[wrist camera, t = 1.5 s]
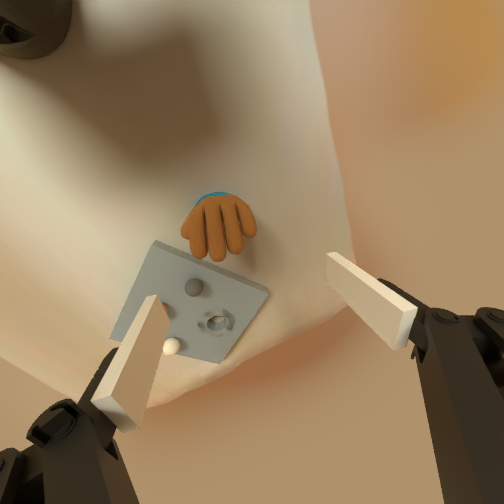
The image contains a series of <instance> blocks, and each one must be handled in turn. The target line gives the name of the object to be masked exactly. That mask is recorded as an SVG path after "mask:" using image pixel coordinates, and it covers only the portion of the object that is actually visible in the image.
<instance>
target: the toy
mask: <svg viewBox="0 0 504 504" xmlns="http://www.w3.org/2000/svg"><path fill="white" fill-rule="evenodd" d="M239 221H240V224H239ZM222 222H223V223H224V230H225V237H226V244H227V248H228V250H229V252H230V253H232V254H238V253H240V252H241V251H242V249H243V240H242V235H241V230H242V233H243V235H244V236H245V237H247V238H251V237H254V236H255V235H256V233H257V228H256V223H255V219H254V216H253V214H252V211H251V209H250V207H249V206H248V205H247V204H246V203H245V202H244V201H242V200H241V199H240V198H238V197H237V196H234V195H231V194H228V193H223V192H216V193H210V194H207V195H205V196H203V197H202V198H201V199H200V200H199V201H198V202H197V204H196V206H195V207H194V209H193V210H192V211H191V213H190V214H189V215H188V217H187V218H186V220H185V222H184V223H183V225H182V228H181V235H182V237H183V238H185V239H189V240H190V249H191V253H192V255H193V256H194V257H195V258H197V259H202V258H204V257H206V256H207V253H208V248H209V254H210V257H211V259H212V260H213V261H216V262H220V261H223V260H224V259H225V257H226V244H225V237H224V230H223V224H222ZM240 225H241V229H240ZM206 227H207V237H206ZM207 238H208V246H207Z"/></svg>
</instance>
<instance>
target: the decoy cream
mask: <svg viewBox="0 0 504 504" xmlns="http://www.w3.org/2000/svg"><path fill="white" fill-rule="evenodd" d="M179 347H180V343H179V341H178V340H177V339H176V338H169V339H167V340H166V341H165V343H164V346H163V352H164V354H165V355H168V356H171V355H174V354H175V353H177V351H178V350H179Z"/></svg>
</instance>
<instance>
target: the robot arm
mask: <svg viewBox="0 0 504 504" xmlns="http://www.w3.org/2000/svg"><path fill="white" fill-rule="evenodd" d="M70 19H71V0H0V54H3V55H7V56H10V57H15V58H23V59H31V58H38V57H42V56H45V55H47V54H49V53H51V52H52V51H54V50H55V49H56V48H57V47H58V46H59V45H60V44H61V43H62V41H63V40H64V38H65V36H66V34H67V31H68V28H69V24H70ZM326 283H327V284H328V285H329V286H330V287H331V288H332V289H333V290H334V291H335V292H336V293H337V294H338V295H339V296H340V297H341V298H342V299H343V300H344V301H345V302H346V303H347V304H348V305H349V306H350V307H351V308H352V309H353V310H354V311H355V312H356V313H357V314H358V315H359V316H360V317H361V318H362V319H363V320H364V321H365V322H366V323H367V324H368V325H369V326H370V327H371V328H372V329H373V330H374V331H375V332H376V333H377V334H378V335H379V336H380V337H381V338H382V340H384V341H385V343H387V345H388V346H390V348H391V349H392V350H397V349H401V348H404V347H406V346H407V343H408V339H410V340H411V341H412V342H413V343H414V344H415V345H414V348H413V352H412V354H411V359H414V356H415V357H416V362H417V367H418V372H419V377H420V382H421V387H422V393H423V398H424V403H425V407H426V412H427V418H428V423H429V428H430V433H431V438H432V443H433V447H434V453H435V458H436V463H437V468H438V473H439V478H440V483H441V488H442V493H443V498H444V504H504V311H503V310H499V309H496V308H490V307H482V308H479V309H478V310H477V312H476V314H475V315H474V316H473V315H471V316H469V315H460V316H459V315H456V314H454V313H453V312H450V311H448V310H445V309H441V308H430V307H428V306H427V305H425V304H423V303H422V302H420V301H419V300H417V299H415V298H414V297H413V296H411V295H409V294H408V293H406V292H404V291H403V290H402V289H400V288H398V287H397V286H395V285H394V284H392V283H391V282H389V281H386V280H383V279H381V278H380V279H375V278H373V277H372V276H371V275H369V274H368V273H366V272H365V271H363V270H362V269H360V268H359V267H357V266H356V265H354V264H353V263H351V262H350V261H349V260H347V259H346V258H344V257H343V256H341V255H340V254H338V253H337V252H331V253H327V254H326ZM169 326H170V320H169V318H168V316H167V313H166V311H165V309H164V307H163V305H162V303H161V301H160V299H159V297H158V295H157V294H156V295H152V296H148V297H146V298H145V300H144V302H143V304H142V306H141V308H140V310H139V311H138V313H137V315H136V317H135V319H134V321H133V323H132V324H131V326H130V328H129V330H128V332H127V334H126V336H125V337H124V339H123V341H122V343H121V345H120V347H118V348H114V349H112V350H111V351H110V352H109V354H108V355H107V356H106V357H105V358H104V359H103V361H102V363H101V365H100V366H99V369H98V370H97V371H96V373H95V375H94V378H92V380H91V382H90V383H89V385H88V387H87V388H86V390H85V392H84V394H83V395H82V397H81V399H80V400H79V402H78V404H76V403H75V402H74V401H73V400H72V399H64V400H61V401H59V402H57V403H55V404H54V405H52V406H50V407H49V408H48V409H47V410H45V411H44V412H43V413H42V414H41V415H40V416H39V417H38V418H37V419H36V420H35V422H34V423H33V424H32V426H31V427H30V429H29V430H28V433H27V437H26V439H28V440H29V441H31V442H32V443H34V445H32V446H30V447H28V448H27V449H25V450H23V451H21V452H20V451H18V450H17V449H15V448H7V449H5V450H3V451H1V452H0V504H139V501H138V498H137V496H136V493H135V491H134V488H133V485H132V483H131V480H130V477H129V475H128V472H127V469H126V467H125V464H124V462H123V459H122V457H121V454H120V451H119V448H118V446H117V443H116V441H115V440H114V439H113V435H114V433H115V430H116V428H118V429H119V430H120V431H121V432H122V433H126V432H129V431H132V430H136V429H139V428H140V426H141V422H142V419H143V415H144V412H145V408H146V405H147V402H148V398H149V395H150V391H151V388H152V384H153V381H154V377H155V374H156V370H157V367H158V364H159V360H160V357H161V353H162V350H163V346H164V343H165V339H166V336H167V333H168V329H169Z"/></svg>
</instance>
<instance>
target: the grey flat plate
mask: <svg viewBox="0 0 504 504" xmlns="http://www.w3.org/2000/svg"><path fill="white" fill-rule="evenodd" d="M193 278H196V279H199V280H201V281H202V283H203V286H204V288H203V291H202V293H201V294H200V295H198V296H196V297H191V296H189V295H187V293H186V292H185V284H186V282H187V281H188V280H190V279H193ZM156 294H157V295H158V297H159V299H160V301H161V303H163V304H165V306H166V307H167V316H168V318H169V320H170V326H169V329H168V333H167V336H166V339H165V341H166V340H167V339H169V338H176V339H177V340H178V341H179V343H180V347H179V350H178V351H177V353H175V354H178V355H182V356H187V357H191V358H195V359H200V360H204V361H209V362H213V363H218V364H220V363H221V362H222V360H223V359H224V357H225V356H226V355H227V353H228V352H229V350H230V349H231V348H232V346H233V345H234V343H235V342H236V341H237V339H238V338H239V336H240V335H241V334H242V332H243V331H244V329H245V328H246V327H247V325H248V324H249V322H250V321H251V320H252V318H253V317H254V315H255V314H256V312H257V311H258V310H259V308H260V307H261V305H262V304H263V303H264V301H265V300H266V298H267V297H268V296H269V292H268V290H267V288H266V287H264V286H261V285H259V284H257V283H254V282H252V281H250V280H247V279H245V278H243V277H240V276H238V275H236V274H233V273H231V272H229V271H226V270H224V269H222V268H219V267H217V266H215V265H212V264H210V263H208V262H206V261H203V260H201V259H197V258H195V257H194V256H192V255H189V254H187V253H185V252H182V251H180V250H178V249H175V248H173V247H171V246H168V245H166V244H164V243H161V242H159V241H157V240H155V241H154V243H153V244H152V245H151V247H150V249H149V251H148V254H147V256H146V258H145V260H144V263H143V265H142V267H141V269H140V271H139V274H138V276H137V278H136V280H135V282H134V285H133V287H132V289H131V291H130V293H129V296H128V298H127V300H126V302H125V304H124V307H123V309H122V311H121V313H120V316H119V318H118V320H117V322H116V324H115V327H114V329H113V331H112V333H111V335H110V338H109V339H112V340H116V341H120V342H122V341H123V339H124V337H125V336H126V334H127V332H128V330H129V328H130V326H131V324H132V323H133V321H134V319H135V317H136V315H137V313H138V311H139V310H140V308H141V306H142V304H143V302H144V300H145V298H146V297H148V296H152V295H156ZM213 316H222V317H224V318H225V319H224V320H223V321H222V322H220V323H213V322H210V321H209V319H210V318H211V317H213ZM162 351H163V350H162Z"/></svg>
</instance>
